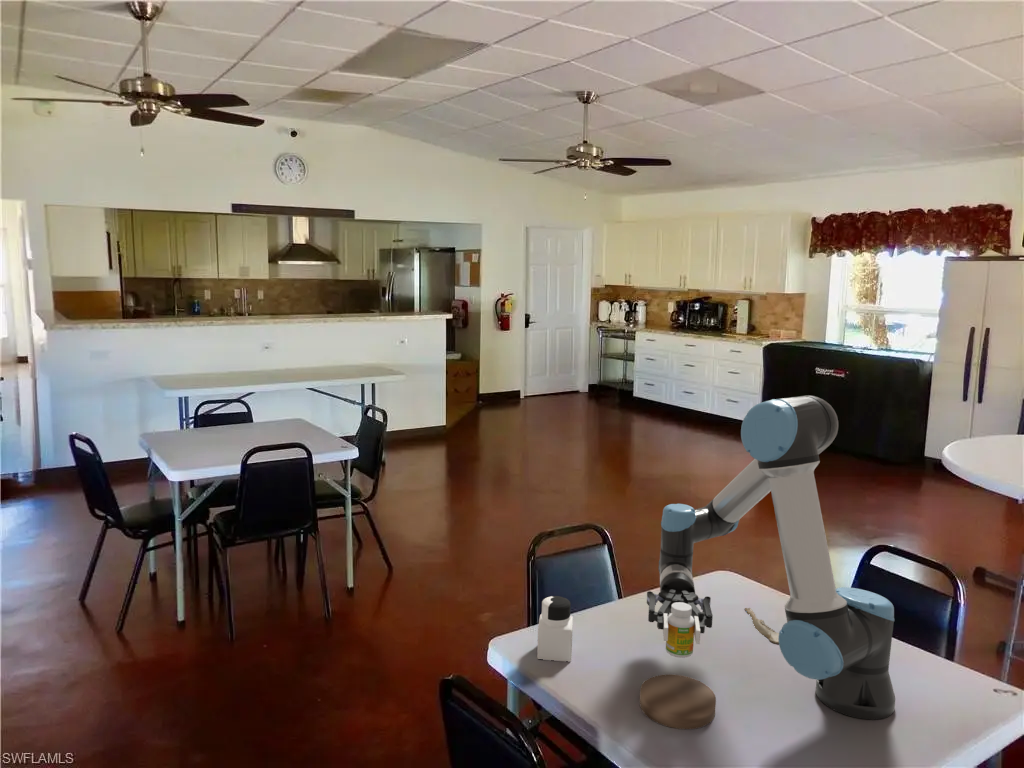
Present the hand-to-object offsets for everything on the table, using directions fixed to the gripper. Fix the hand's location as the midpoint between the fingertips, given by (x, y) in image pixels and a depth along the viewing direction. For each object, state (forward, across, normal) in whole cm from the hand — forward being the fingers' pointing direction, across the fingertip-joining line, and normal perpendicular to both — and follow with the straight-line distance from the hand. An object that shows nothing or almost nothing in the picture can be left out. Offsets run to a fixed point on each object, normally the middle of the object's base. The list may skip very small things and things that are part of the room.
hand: (681, 635), depth 148 cm
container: (-22, +27, -18) cm, 39 cm away
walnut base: (-5, 0, -18) cm, 19 cm away
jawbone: (-47, -26, -19) cm, 57 cm away
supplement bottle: (-5, 0, -6) cm, 8 cm away
